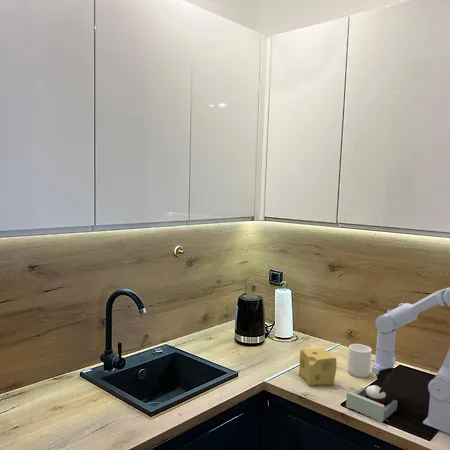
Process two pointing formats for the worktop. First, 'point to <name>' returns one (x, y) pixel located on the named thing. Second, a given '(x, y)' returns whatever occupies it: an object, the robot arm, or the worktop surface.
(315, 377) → the cheese
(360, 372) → the cup
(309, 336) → the worktop surface
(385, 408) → the box
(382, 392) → the cocoa
